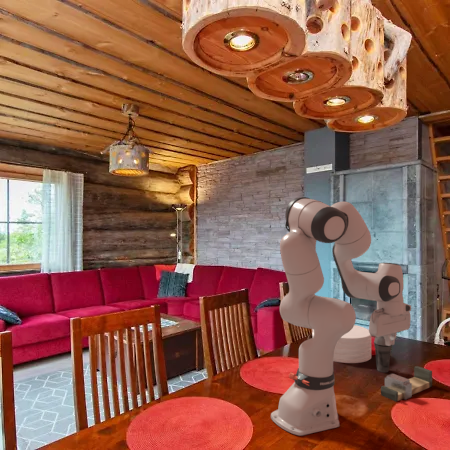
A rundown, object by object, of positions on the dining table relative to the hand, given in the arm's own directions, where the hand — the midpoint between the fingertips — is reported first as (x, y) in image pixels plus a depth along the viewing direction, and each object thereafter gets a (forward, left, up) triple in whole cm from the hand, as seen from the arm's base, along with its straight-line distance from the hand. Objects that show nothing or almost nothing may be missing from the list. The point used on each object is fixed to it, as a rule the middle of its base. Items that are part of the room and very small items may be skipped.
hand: (389, 345), depth 132 cm
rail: (+11, 0, -19) cm, 22 cm away
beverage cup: (+21, +17, -19) cm, 33 cm away
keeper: (+5, 0, -19) cm, 20 cm away
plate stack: (+24, +42, -20) cm, 52 cm away
